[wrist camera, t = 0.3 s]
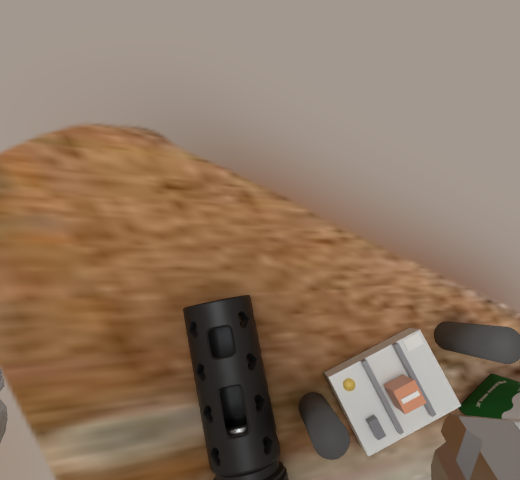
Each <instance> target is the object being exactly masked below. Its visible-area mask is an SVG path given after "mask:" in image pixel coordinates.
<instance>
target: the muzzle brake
mask: <svg viewBox="0 0 520 480" xmlns="http://www.w3.org/2000/svg"><path fill="white" fill-rule="evenodd" d="M183 312H184V318H185V324H186V330H187V336H188V342H189V347H190V353H191V359H192V365H193V371H194V377H195V383H196V388H197V394H198V400H199V406H200V412H201V418H202V423H203V429H204V435H205V441H206V447H207V453H208V458H209V464H210V468H211V470H212V472H214V473H215V475H216V476H215V478H214V480H288V475H287V471H286V468H285V467H284V466H283V463H282V462H281V461H279V460H278V456H279V454H280V446H279V442H278V438H277V434H276V426H275V421H274V416H273V411H272V406H271V401H270V397H269V394H268V385H267V380H266V375H265V370H264V365H263V361H262V357H261V351H260V345H259V339H258V334H257V329H256V324H255V321H254V316H253V309H252V304H251V299H250V296H249V295H244V296H238V297H233V298H227V299H222V300H217V301H212V302H207V303H203V304H198V305H194V306H189V307H185V308H184V309H183ZM239 316H240V317H241V319H242V322H241V320H240V319H239ZM247 357H248V358H249V359H250V360H249V359H248V358H247ZM220 399H221V400H220Z"/></svg>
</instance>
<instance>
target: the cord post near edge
mask: <svg viewBox="0 0 520 480" xmlns="http://www.w3.org/2000/svg"><path fill="white" fill-rule="evenodd" d="M434 338H435V341H436V343H437V344H438V345H439V346H440V347H441V348H443V349H445V350H449V351H454V352H458V353H462V354H466V355H470V356H475V357H479V358H483V359H487V360H491V361H496V362H500V363H504V364H511V363H514V362H516V361H518V360H519V359H520V335H519V333H518V332H517V331H515V330H514V329H512V328H509V327H501V326H490V325H479V324H468V323H457V322H443V323H440V324H439V325H438V326H437V327H436V329H435V332H434Z"/></svg>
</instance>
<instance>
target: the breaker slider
mask: <svg viewBox="0 0 520 480" xmlns="http://www.w3.org/2000/svg"><path fill="white" fill-rule="evenodd" d="M384 387H385V389H386V391H387V393H388V395H389V397H390V399H391V401H392V403H393V405H394V406H395V407H396V408H397V409H399V410H400V411H401V412H403V413H404V414H407V413H409V412H411V411H413V410H414V409H416V408H418V407H420V406H422V405H424V404H426V403H427V402H426V401H425V399H424V397H423V395H422V393H421V391H420V389H419V387H418V386H417V384H416V382H415V380H414V379H412V378H409V377H407V376H405V375H401V376H399V377H397V378H395V379H394V380H392V381H390V382H388V383H386V384H384Z"/></svg>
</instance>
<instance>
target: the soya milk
mask: <svg viewBox="0 0 520 480" xmlns="http://www.w3.org/2000/svg"><path fill="white" fill-rule="evenodd" d="M458 408H459V409H460V410H461V411H462V412H463V413H464V414H465V415H467V416H477V417H488V418H498V419H505V418H507V419H520V382H517V381H514V380H511V379H508V378H504V377H501V376H498V375H495V374H491V375H490V376H489V377H488V378H487V379H486V380H485V381H484V382H483V383H482V384H481V385H480V386H479V387H478V388H477V389H476V390H475V391H474V392H473V393H472V394H471V395H470V396H469V397H468V398H467V399H466V400H465V401H464V402H463V403H462V404H461V406H460V407H458Z"/></svg>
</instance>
